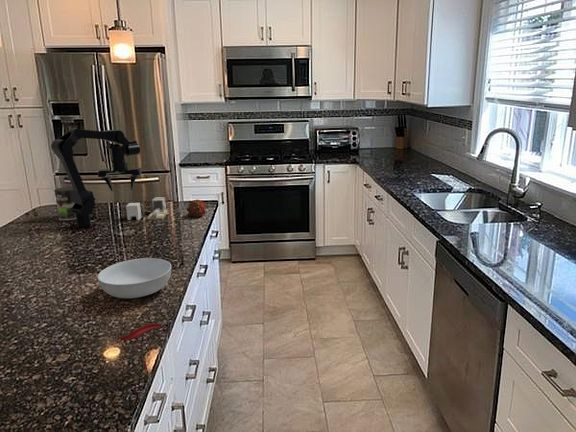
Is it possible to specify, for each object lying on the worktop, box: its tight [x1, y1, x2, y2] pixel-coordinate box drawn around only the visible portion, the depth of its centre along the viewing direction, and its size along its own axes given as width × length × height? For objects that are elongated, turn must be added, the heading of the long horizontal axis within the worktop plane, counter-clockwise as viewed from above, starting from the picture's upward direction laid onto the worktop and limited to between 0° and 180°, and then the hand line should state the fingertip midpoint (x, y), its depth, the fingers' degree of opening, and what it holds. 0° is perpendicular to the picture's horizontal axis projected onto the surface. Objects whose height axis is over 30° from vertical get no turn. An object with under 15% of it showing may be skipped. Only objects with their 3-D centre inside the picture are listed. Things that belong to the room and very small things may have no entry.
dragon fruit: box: [186, 199, 207, 218], centre depth 221 cm, size 8×8×12 cm
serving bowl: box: [96, 257, 172, 299], centre depth 139 cm, size 21×21×7 cm
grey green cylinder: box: [53, 186, 76, 221], centre depth 223 cm, size 10×10×14 cm
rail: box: [146, 196, 169, 221], centre depth 223 cm, size 16×7×7 cm, turn 5°
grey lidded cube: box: [125, 202, 142, 221], centre depth 219 cm, size 6×5×7 cm
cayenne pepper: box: [117, 322, 165, 341], centre depth 116 cm, size 12×5×2 cm, turn 114°
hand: (122, 190), depth 221 cm, fingers open, 9 cm apart
